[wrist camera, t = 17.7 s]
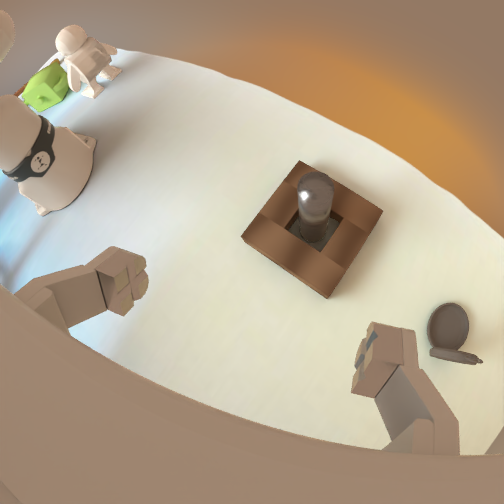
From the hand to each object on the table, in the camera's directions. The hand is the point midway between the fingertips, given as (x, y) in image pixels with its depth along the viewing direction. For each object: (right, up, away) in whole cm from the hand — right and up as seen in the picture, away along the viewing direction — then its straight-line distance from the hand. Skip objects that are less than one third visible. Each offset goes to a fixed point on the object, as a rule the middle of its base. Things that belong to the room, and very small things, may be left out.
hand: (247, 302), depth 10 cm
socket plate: (+8, +5, +28) cm, 30 cm away
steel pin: (+8, +5, +29) cm, 30 cm away
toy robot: (-35, +42, +46) cm, 72 cm away
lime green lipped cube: (-55, +44, +51) cm, 87 cm away
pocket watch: (+25, -9, +22) cm, 35 cm away
